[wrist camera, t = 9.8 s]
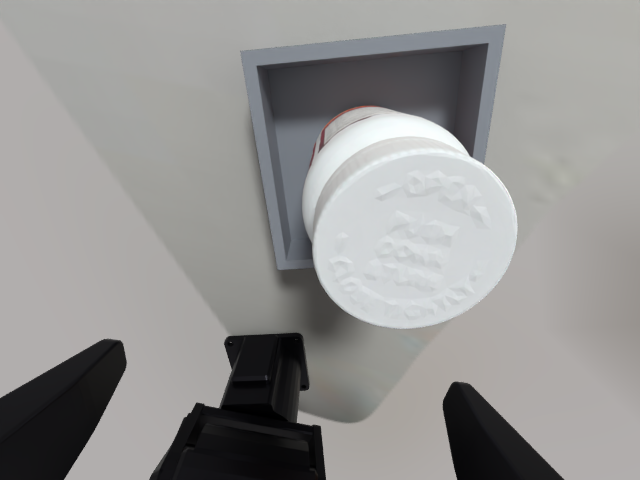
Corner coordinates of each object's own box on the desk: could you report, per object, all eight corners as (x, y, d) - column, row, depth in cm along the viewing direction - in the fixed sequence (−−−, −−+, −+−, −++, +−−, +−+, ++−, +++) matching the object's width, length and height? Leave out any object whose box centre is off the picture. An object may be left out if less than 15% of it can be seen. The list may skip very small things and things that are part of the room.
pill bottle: (371, 227, 20) (419, 375, 9) (291, 174, 18) (246, 279, 8) (439, 147, 17) (599, 229, 7) (354, 78, 16) (403, 57, 6)
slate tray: (447, 232, 20) (468, 258, 17) (284, 243, 21) (277, 270, 18) (470, 37, 16) (506, 24, 12) (257, 58, 16) (240, 51, 13)
